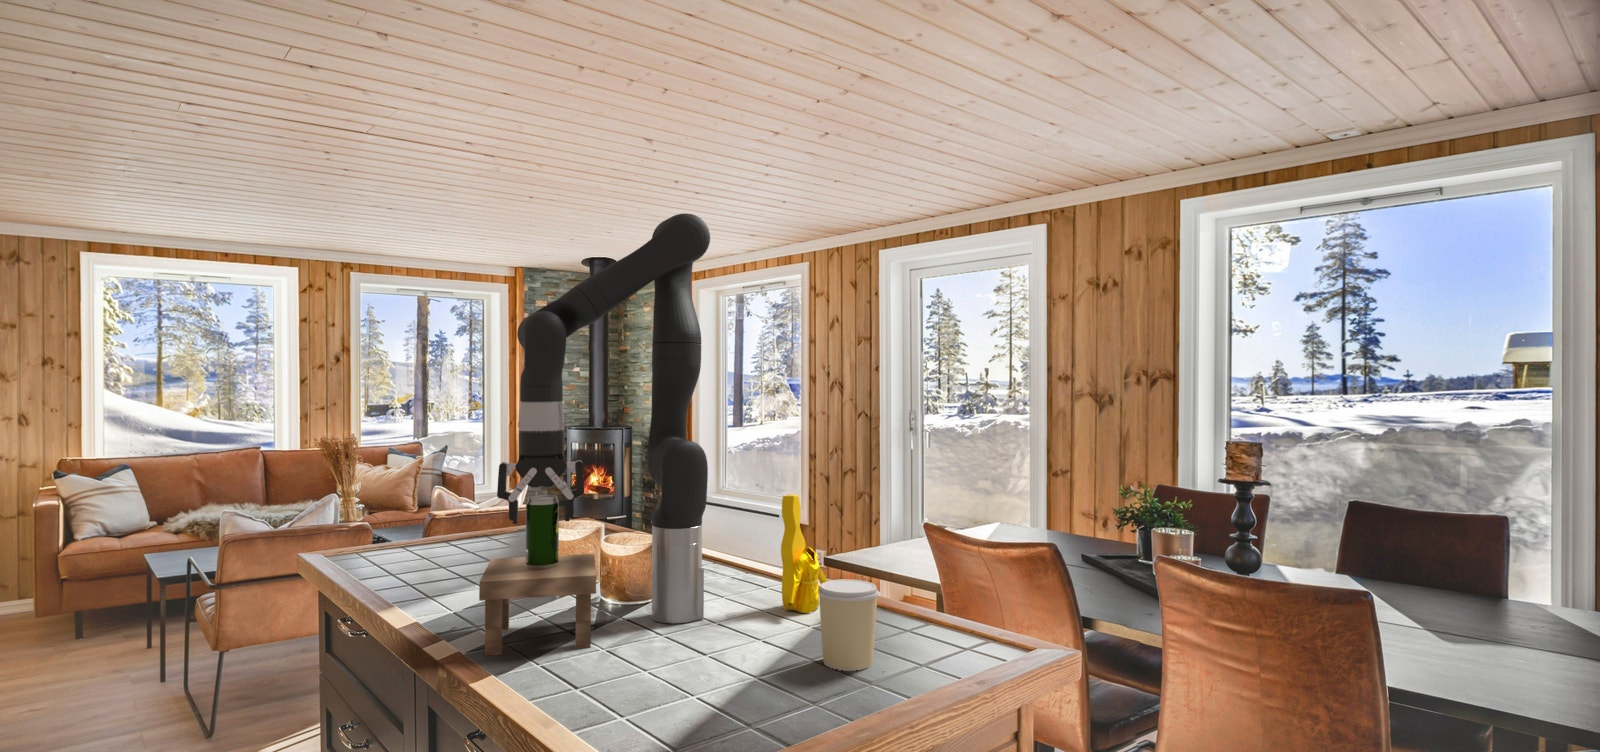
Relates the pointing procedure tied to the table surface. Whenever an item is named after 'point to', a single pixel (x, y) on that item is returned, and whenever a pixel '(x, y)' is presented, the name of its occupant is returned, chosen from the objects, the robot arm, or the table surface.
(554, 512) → the beer can
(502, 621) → the walnut stool
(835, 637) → the coffee cup
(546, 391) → the robot arm
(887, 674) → the table surface
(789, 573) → the yellow raincoat figure
